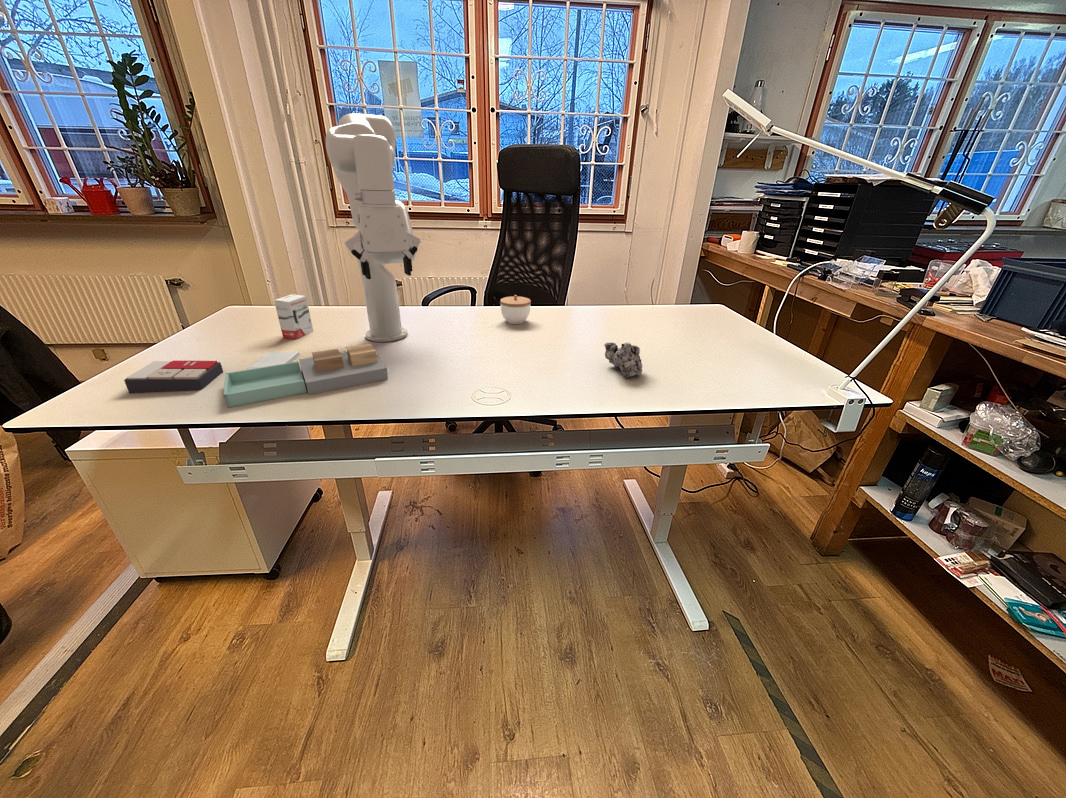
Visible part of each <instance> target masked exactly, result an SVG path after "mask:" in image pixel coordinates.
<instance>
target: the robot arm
mask: <svg viewBox="0 0 1066 798" xmlns="http://www.w3.org/2000/svg"><path fill="white" fill-rule="evenodd" d="M396 139H397V137H396V131H395V127H394V125H393V124H392V121H390V119H389V118H387V117H386V116H384V115H378V114H377V115H376V114H367V113H346V114H344V115H343V116H341V117H340V119H339V121H338V124H337V126H333V127H331V128H329V129H328V130H327V131H326V133H325V150H326V153H327V158H328V160H329V163H330V165H331V167H332V169H333V172H334V174H335V176H336V178H337V180H338V182H339V184H340V185H341V187H342V188H343V190H344V191H345V192H344V193H345V194H346V196H347V200H348V204H349V209H350V213H351V217H352V221H353V225H354V226H355V229H356V230H357V232H355V233H354V235H353V236H352V237H350V238H349V239H347V240H345V241H344V245H345V246H346V248H347V250H348V251H349V253H350V254H351V255H352V256H354V257H355V258H356V260H357V263H358V267H359V271H360V277H361V282H362V288H363V294H364V299H365V307H366V313H367V319H368V326H369V330H368V331H366V332H365V338H366V339H367V340H368V341H371V342H378V343H386V342H389V343H390V342H394V341H395V342H396V341H399V340H401V339H404V338H406V337H407V336H408V330H407V329H406V328H404V327H402V319H401V312H400V304H399V302H400V301H399V297H398V295H399V294H398V288H397V287H398V286H397V281H396V278H395V276H394V275H393V273H392V271H390V270H389V269H388V268H387V267H386V266H385V265H389V264H403V271H404V272H403V273H404V274H405V275H406V276H409V277H411V276H412V272H413V262H414V261H415V260H416V259H417V255H418V251H419V250H418V248H419V246H420V243H421V239H420V238H418V237H417V236H415V233H414V230H413V226H412V222H411V219H410V215H409V212H408V210H407V207H406V205H405V204H404V203H403V202H402V201H401V200H398V199H396V192H395V191H396V190H395V183H394V177H393V176H394V175H393V167H395V154H396V146H397V145H396V143H397V142H396V141H397V140H396Z"/></svg>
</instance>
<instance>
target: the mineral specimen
mask: <svg viewBox="0 0 1066 798" xmlns="http://www.w3.org/2000/svg"><path fill="white" fill-rule="evenodd" d="M603 346H604V347H605V352H604V356H605V357H604V358H605V359H607V360H608V362H609V363H610V364H611V365H613V366H614V369H616V370H619V371H620V373H621V374H622V377H623V379H624V380H626V379H628V378H629V377H635V376H641V375H642V373H643V363H642V359H641V356H640V354H641V353H640V352H641V348H640V347H639V346H638V345H633V344H631V343H630V342H623V343H621V347H619V346H618V344H616V342H612V341H611V342H606V343H604V344H603Z"/></svg>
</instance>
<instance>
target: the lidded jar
mask: <svg viewBox="0 0 1066 798" xmlns="http://www.w3.org/2000/svg"><path fill="white" fill-rule="evenodd" d="M513 295H514V296H512V295H511V296H505V297H502V298H500V301H499V304H500V311H501V312H500V313H501V315H502V317H503V319H504V320H506V322H507V323H509V324H511V325H512V324H513V325H520V324H523V323H525V321H526V320H527V319H528V317H529V315H530V311H531V303H532V301H531V299H530V298H528V297H526V296H525V297H524V296H518V294H513Z"/></svg>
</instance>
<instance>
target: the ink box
mask: <svg viewBox="0 0 1066 798" xmlns="http://www.w3.org/2000/svg"><path fill="white" fill-rule="evenodd" d="M274 306H275V311H276V313H277V317H278V318H277V319H278V323H279V327H280V330H281V334H282V338H283V339H290V340H291V339H292V340H297V339H301V338H302V337H304V336H306V335H308V334H310V333H312V332H314V327H313V323H312V318H311V314H310V312H311V311H310V309H309V304H308V297H307V296H306V295H302V294H301V295H300V294H294V293H291V294H288V295H285V296H283V297H279V298H277V299H275V300H274Z"/></svg>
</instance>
